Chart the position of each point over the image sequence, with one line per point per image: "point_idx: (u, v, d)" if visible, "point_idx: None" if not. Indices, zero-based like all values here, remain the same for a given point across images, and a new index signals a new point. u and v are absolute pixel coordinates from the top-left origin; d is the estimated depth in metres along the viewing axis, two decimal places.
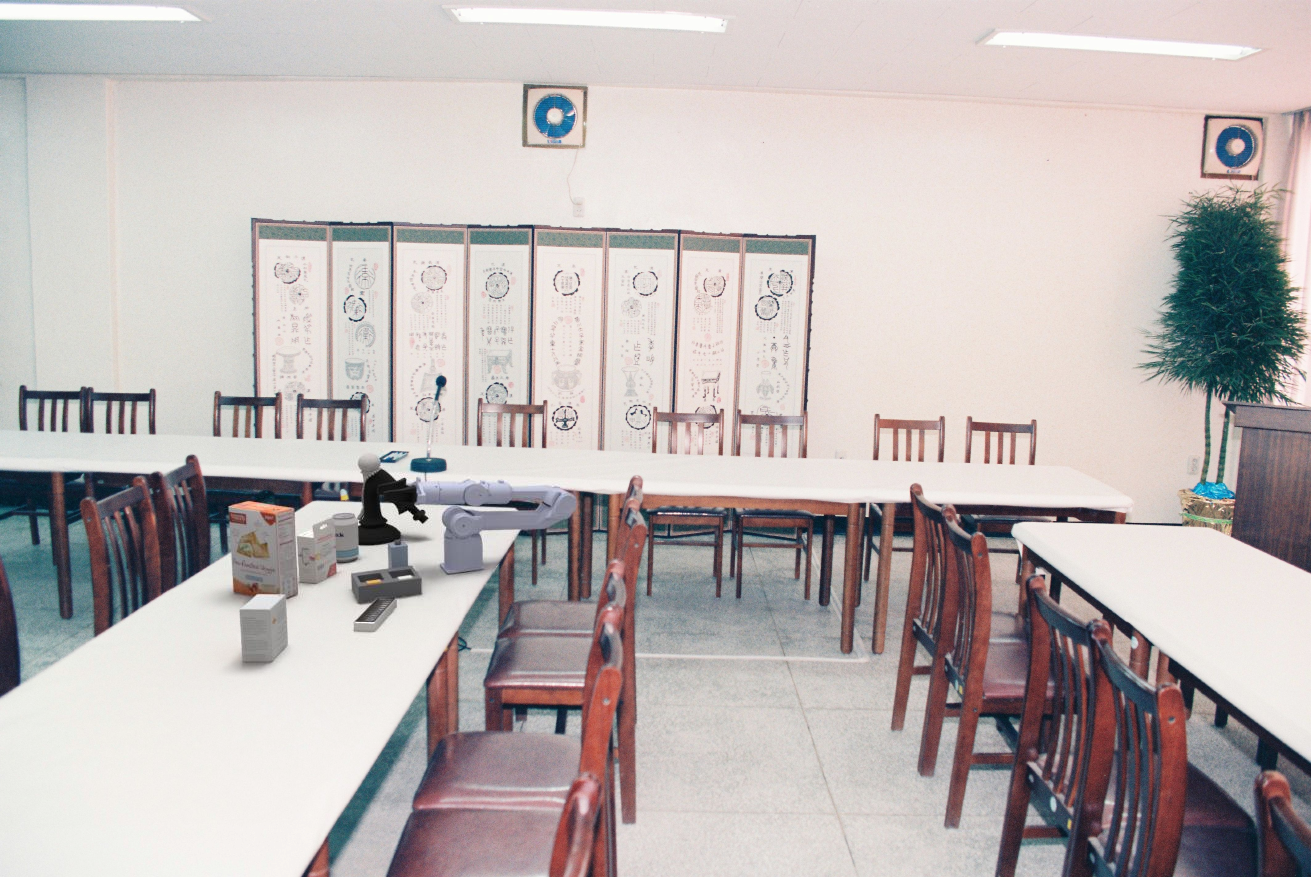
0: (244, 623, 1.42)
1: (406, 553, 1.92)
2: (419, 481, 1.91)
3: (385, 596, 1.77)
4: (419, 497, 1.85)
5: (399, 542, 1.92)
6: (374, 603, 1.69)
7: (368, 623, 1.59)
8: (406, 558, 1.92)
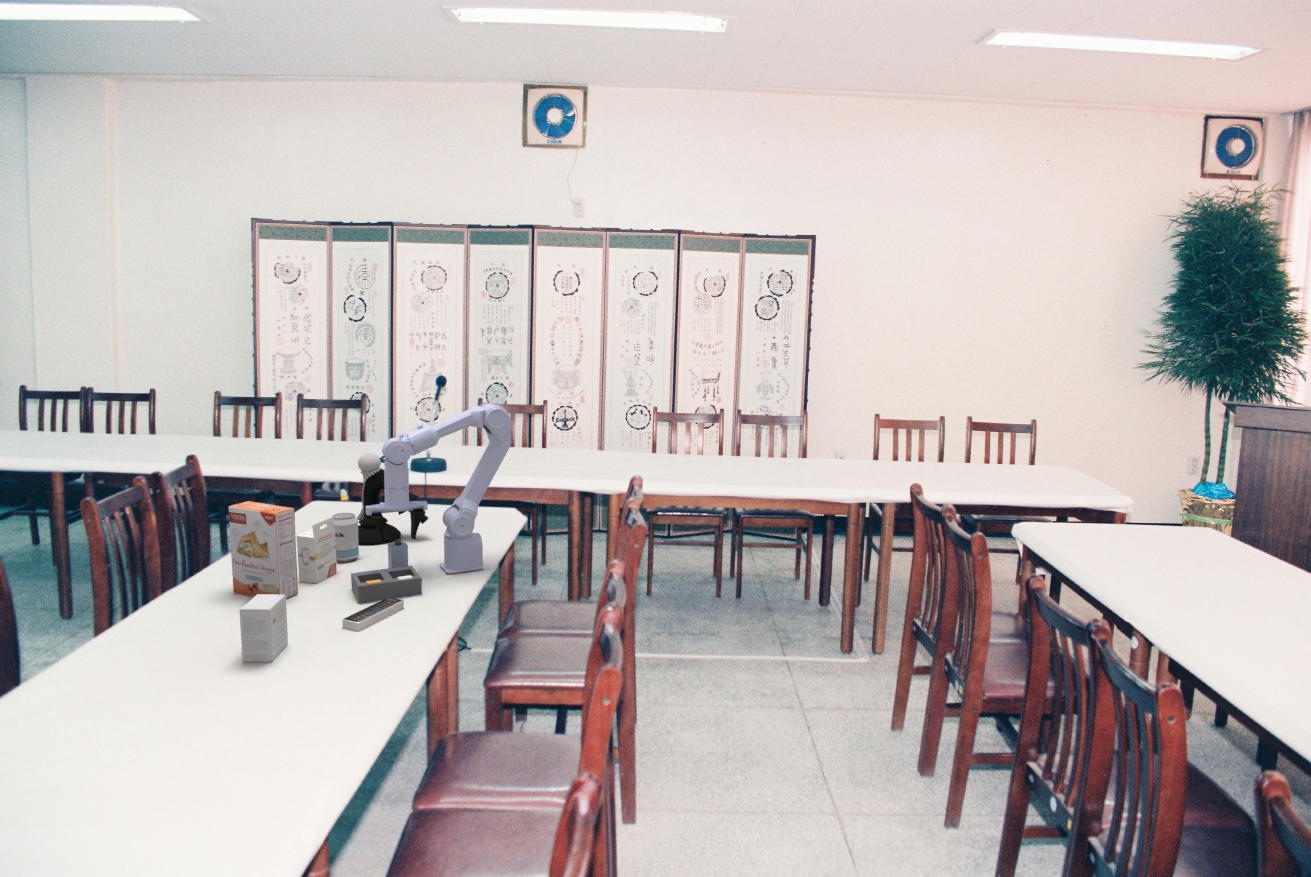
0: (244, 623, 1.42)
1: (406, 553, 1.92)
2: None
3: (385, 596, 1.77)
4: (366, 512, 1.88)
5: (399, 542, 1.92)
6: (379, 602, 1.70)
7: (353, 622, 1.59)
8: (406, 558, 1.92)
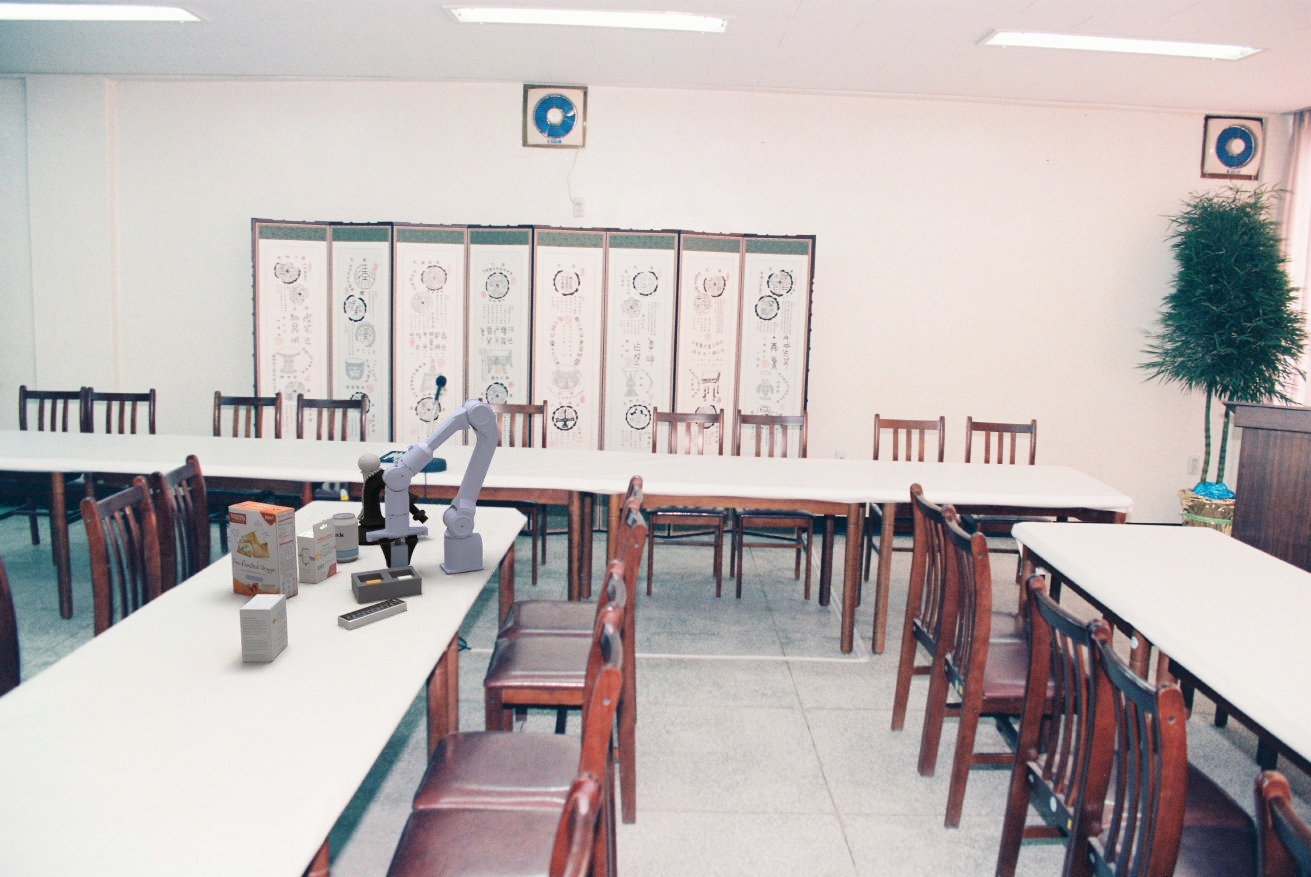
0: (244, 623, 1.42)
1: (406, 553, 1.92)
2: None
3: (385, 596, 1.77)
4: None
5: (399, 542, 1.92)
6: (382, 602, 1.70)
7: (345, 620, 1.60)
8: (406, 558, 1.92)
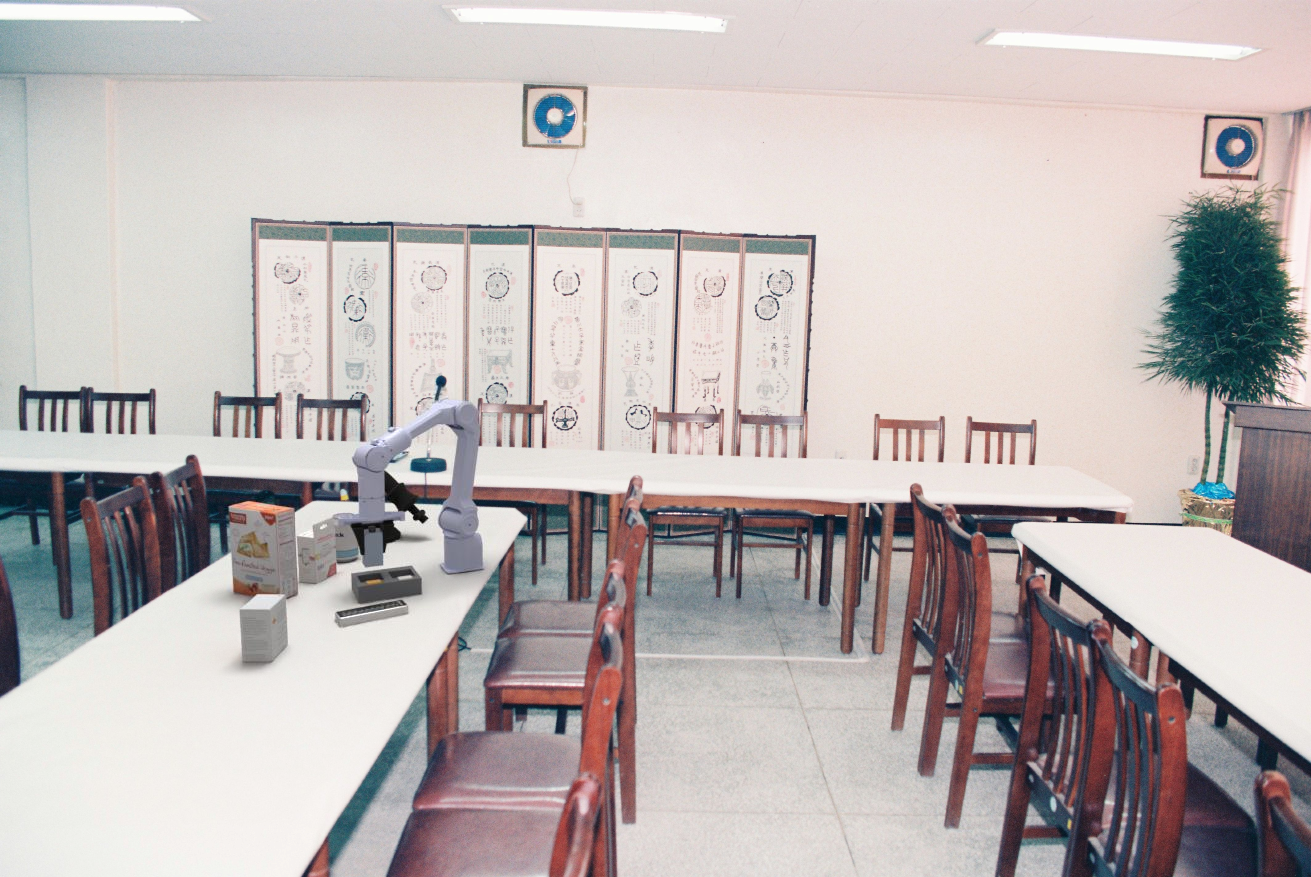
0: (244, 623, 1.42)
1: (381, 541, 1.79)
2: None
3: (385, 596, 1.77)
4: (338, 524, 1.75)
5: (373, 528, 1.79)
6: (385, 603, 1.70)
7: (338, 617, 1.62)
8: (381, 546, 1.79)
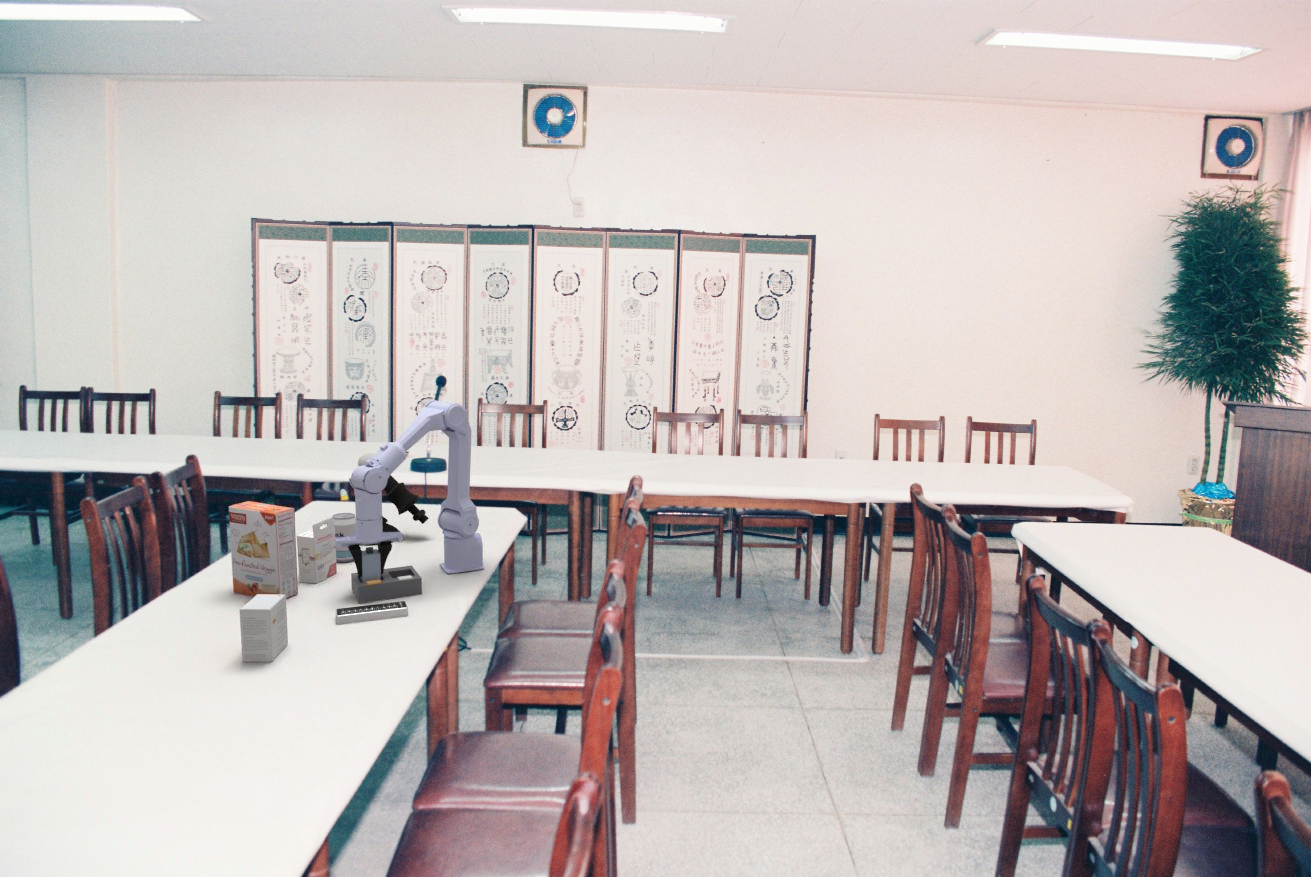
0: (244, 623, 1.42)
1: (379, 562, 1.78)
2: None
3: (385, 596, 1.77)
4: None
5: (371, 550, 1.78)
6: (387, 603, 1.70)
7: (336, 614, 1.63)
8: (378, 567, 1.78)
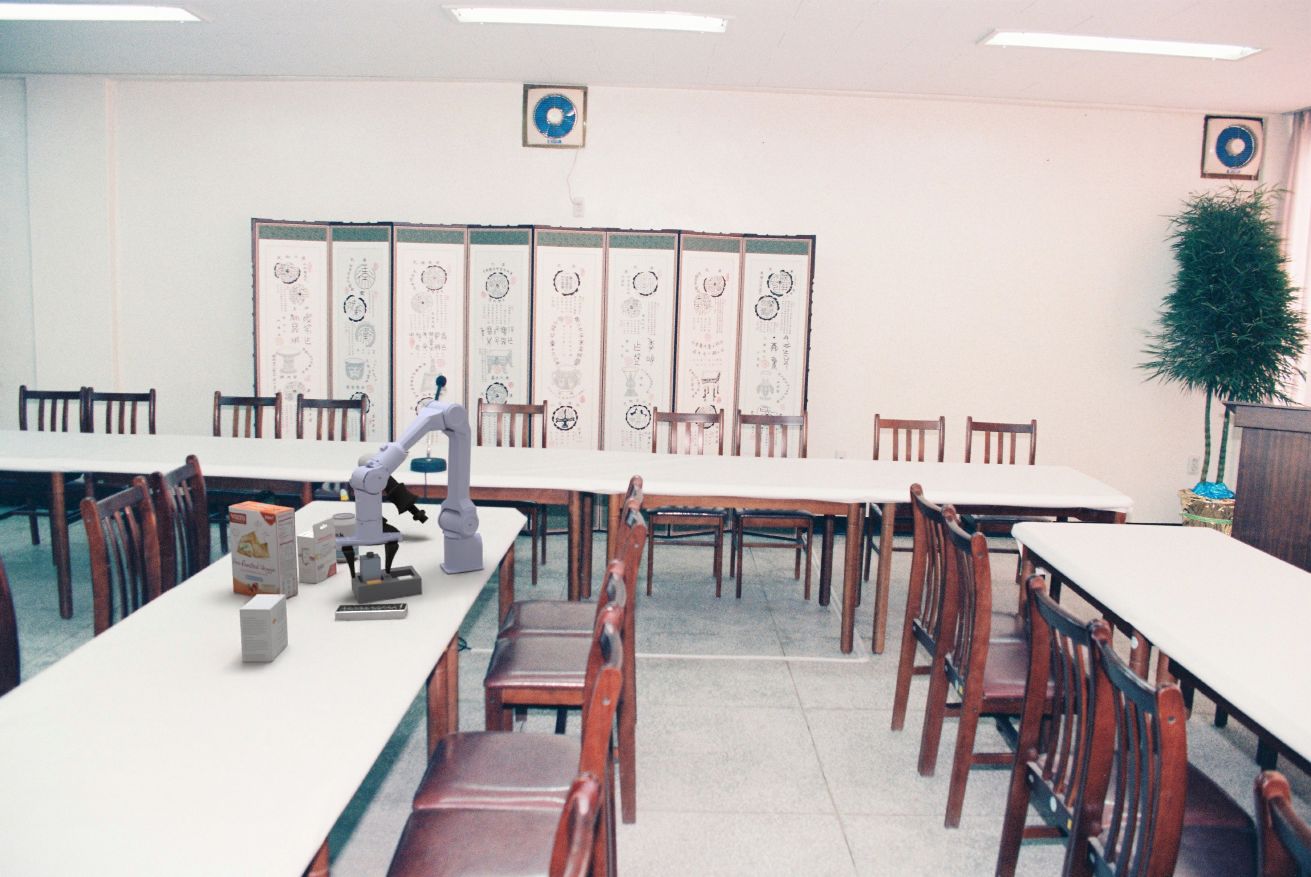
0: (244, 623, 1.42)
1: (379, 567, 1.78)
2: None
3: (385, 596, 1.77)
4: None
5: (371, 554, 1.78)
6: (389, 604, 1.69)
7: (336, 610, 1.65)
8: (379, 572, 1.78)
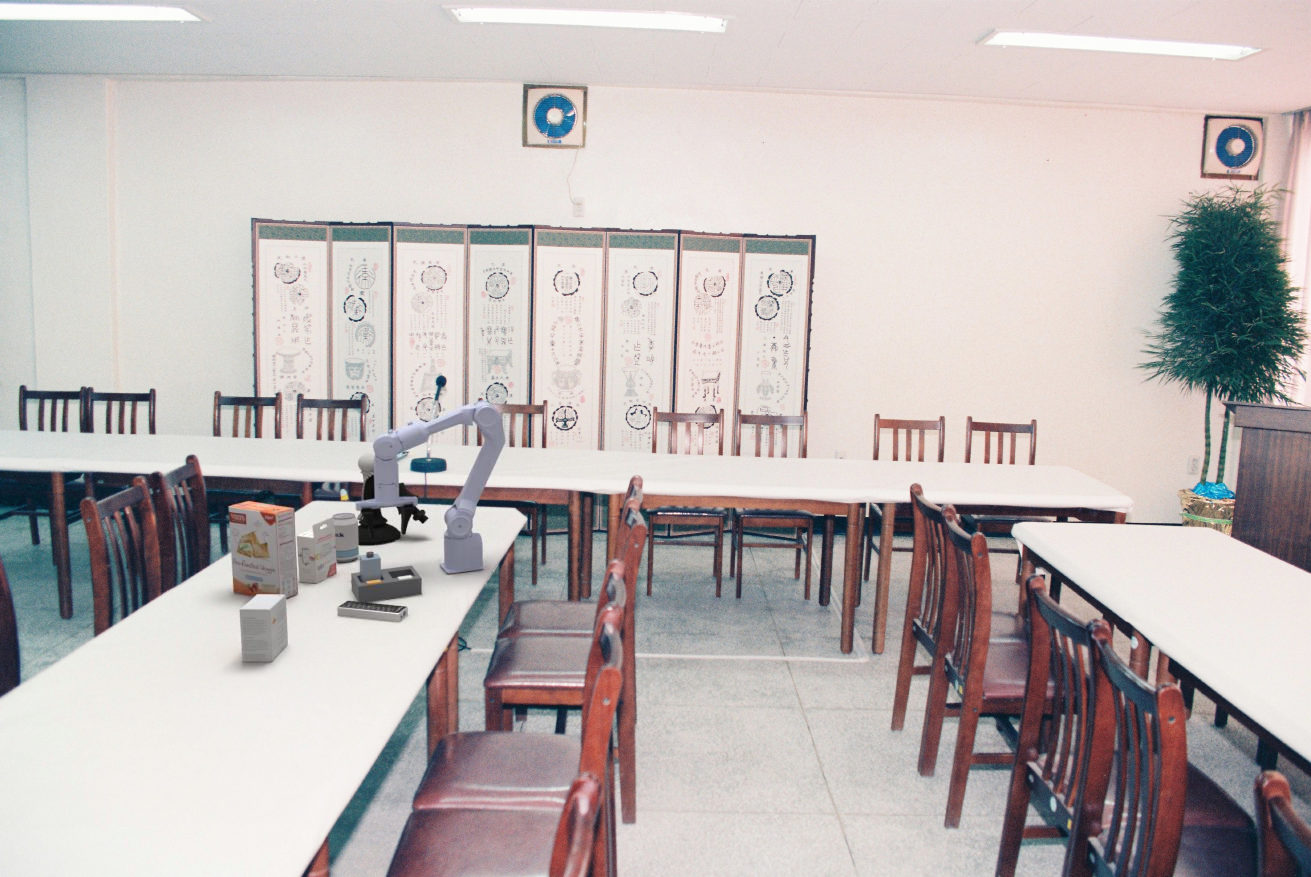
0: (244, 623, 1.42)
1: (379, 567, 1.78)
2: None
3: (385, 596, 1.77)
4: (356, 508, 1.88)
5: (371, 554, 1.78)
6: (390, 605, 1.68)
7: None
8: (379, 572, 1.78)
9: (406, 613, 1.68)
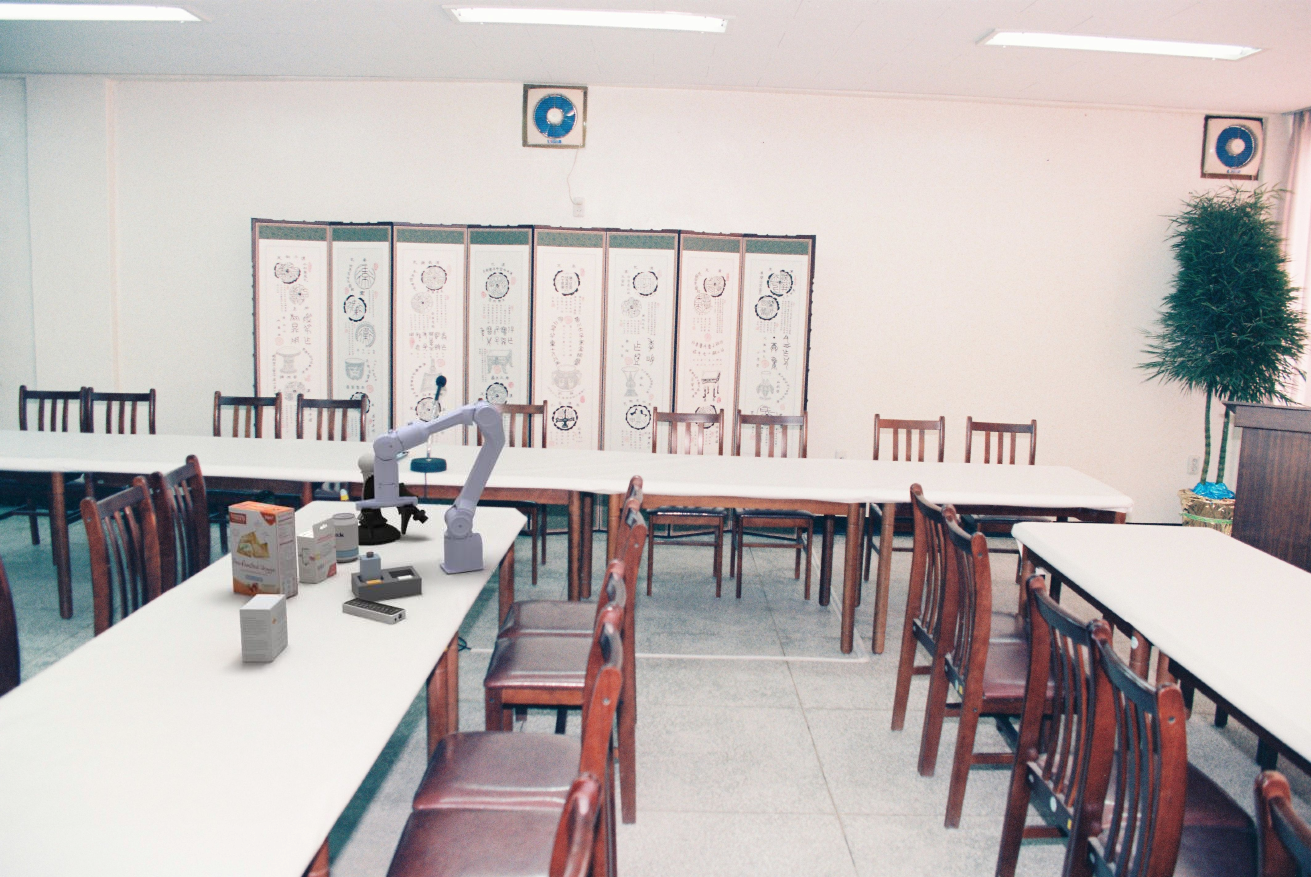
0: (244, 623, 1.42)
1: (379, 567, 1.78)
2: None
3: (385, 596, 1.77)
4: (356, 508, 1.88)
5: (371, 554, 1.78)
6: (390, 606, 1.68)
7: None
8: (379, 572, 1.78)
9: (403, 616, 1.66)
